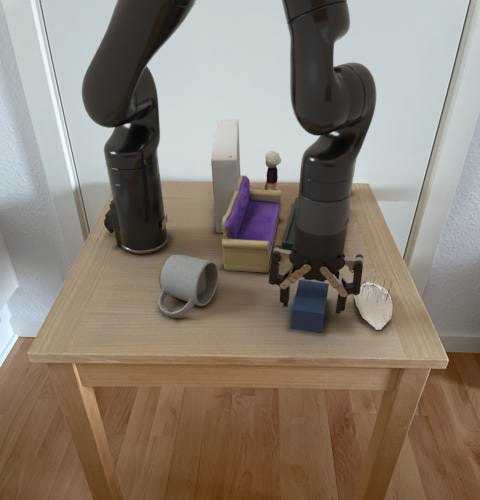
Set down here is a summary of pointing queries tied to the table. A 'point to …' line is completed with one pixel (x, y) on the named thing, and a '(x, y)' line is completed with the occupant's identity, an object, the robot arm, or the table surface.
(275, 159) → the grandmother figurine
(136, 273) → the table surface
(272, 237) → the toy sofa
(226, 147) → the skincare box
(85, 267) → the table surface
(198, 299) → the ceramic mug
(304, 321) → the dark blue block
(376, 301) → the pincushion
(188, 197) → the table surface
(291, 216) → the pad frame
